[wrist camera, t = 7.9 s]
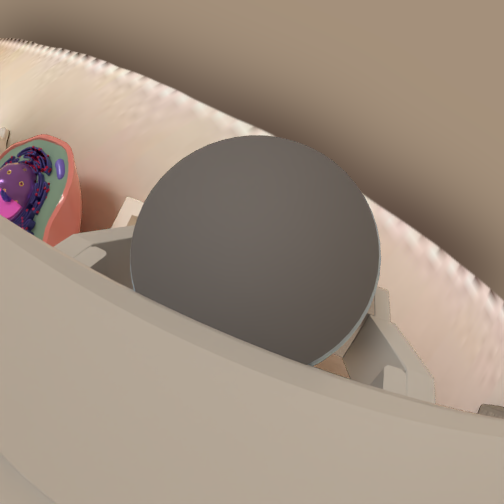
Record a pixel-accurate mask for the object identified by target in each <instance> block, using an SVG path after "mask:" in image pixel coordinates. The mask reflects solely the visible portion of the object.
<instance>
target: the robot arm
mask: <svg viewBox="0 0 504 504" xmlns="http://www.w3.org/2000/svg"><path fill="white" fill-rule="evenodd" d="M8 135H9V130H8V129H6V128H0V155H1V154H2V153H3V152H4V151H5V150H6V142H7V139H8ZM134 228H135V225H132V226H125V227H118V228H111V229H104V230H97V231H90V232H83V233H77V234H73V235H71V236H69V237H68V238H66V239H65V240H63V241H62V242H60V243H58V244H57V245H55V246H54V247H52V246H51V245H49V244H47V243H46V242H44V241H42V240H41V239H39V238H37V237H35V236H34V235H32V234H31V233H29V232H27V231H26V230H24V229H22V228H21V227H19V226H18V225H16V224H14V223H13V222H11V221H10V220H8V219H6V218H5V217H3V216H2V215H0V504H504V419H502V418H496V417H491V416H486V415H481V414H476V413H472V412H467V411H463V410H458V409H454V408H450V407H446V406H442V405H438V404H436V399H435V387H434V378H433V376H432V375H431V374H430V372H429V371H428V369H427V368H426V366H425V365H424V363H423V362H422V361H421V359H420V358H419V356H418V355H417V354H416V352H415V351H414V349H413V348H412V347H411V345H410V344H409V342H408V341H407V340H406V338H405V337H404V336H403V334H402V333H401V331H400V330H399V329H398V327H397V326H396V325H395V324H394V323H392V322H391V318H390V302H389V291H388V290H386V289H383V288H380V287H377V289H376V293H375V295H374V298H373V300H372V303H371V305H370V308H369V310H368V312H367V314H366V315H365V317H364V319H363V321H362V322H361V324H360V325H359V327H358V328H357V329H356V331H355V332H354V333H353V334H352V336H351V337H350V338H349V339H348V340H347V341H346V342H345V343H344V344H343V345H342V346H341V347H340V348H339V349H338V350H337V351H336V352H334V353H333V354H335V355H337V356H340V357H343V361H344V364H345V366H346V369H347V372H348V374H349V377H350V379H348V378H345V377H342V376H339V375H336V374H333V373H330V372H327V371H324V370H322V369H319V368H316V367H313V366H310V365H305V364H302V363H300V362H297V361H294V360H291V359H289V358H286V357H283V356H281V355H278V354H276V353H273V352H270V351H268V350H265V349H263V348H260V347H258V346H255V345H253V344H250V343H248V342H245V341H243V340H240V339H238V338H236V337H233V336H231V335H228V334H226V333H224V332H221V331H219V330H217V329H214V328H212V327H210V326H207V325H205V324H203V323H201V322H198V321H196V320H194V319H192V318H189V317H187V316H185V315H183V314H181V313H179V312H176V311H174V310H172V309H170V308H168V307H166V306H164V305H161V304H159V303H157V302H155V301H153V300H151V299H149V298H147V297H145V296H143V295H141V294H139V293H137V292H135V291H134V288H133V284H132V278H131V269H130V252H131V243H132V236H133V231H134Z"/></svg>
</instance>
